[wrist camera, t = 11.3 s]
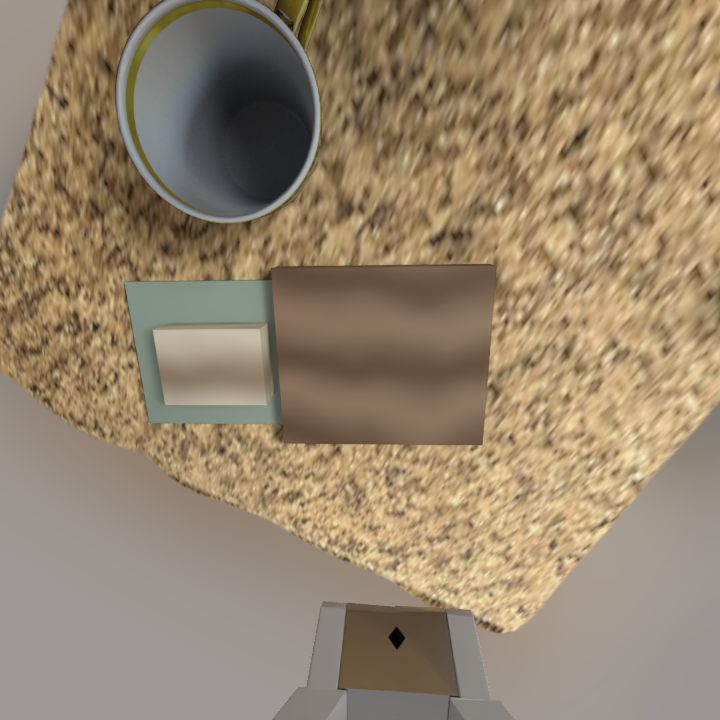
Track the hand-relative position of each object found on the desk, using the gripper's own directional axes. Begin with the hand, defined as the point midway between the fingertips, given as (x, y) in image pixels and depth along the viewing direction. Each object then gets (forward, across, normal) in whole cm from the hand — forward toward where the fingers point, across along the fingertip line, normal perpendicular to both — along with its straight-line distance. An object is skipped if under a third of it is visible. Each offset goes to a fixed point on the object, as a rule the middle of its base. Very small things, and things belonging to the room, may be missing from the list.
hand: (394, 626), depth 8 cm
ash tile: (+24, +13, +3) cm, 28 cm away
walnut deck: (+25, +1, +2) cm, 25 cm away
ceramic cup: (+26, +8, -14) cm, 30 cm away
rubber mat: (+25, +15, +2) cm, 29 cm away
